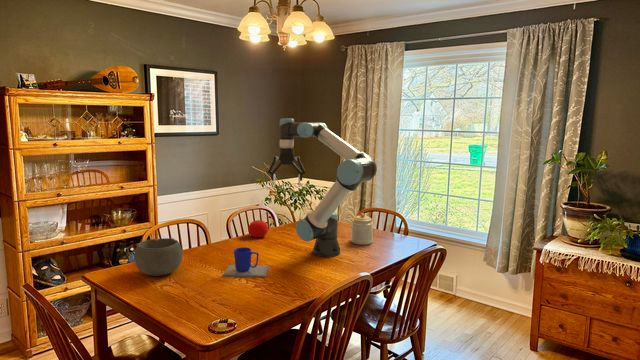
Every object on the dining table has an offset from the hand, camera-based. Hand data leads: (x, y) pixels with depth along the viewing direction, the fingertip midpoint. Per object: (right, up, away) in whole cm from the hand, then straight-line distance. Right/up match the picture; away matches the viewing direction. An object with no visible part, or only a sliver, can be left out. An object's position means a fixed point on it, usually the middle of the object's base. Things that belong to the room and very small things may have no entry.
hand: (286, 186), depth 233 cm
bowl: (-58, -41, -29) cm, 77 cm away
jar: (+43, -34, +26) cm, 61 cm away
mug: (-17, -40, -26) cm, 51 cm away
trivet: (-17, -41, -26) cm, 51 cm away
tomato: (-20, -32, +35) cm, 51 cm away
